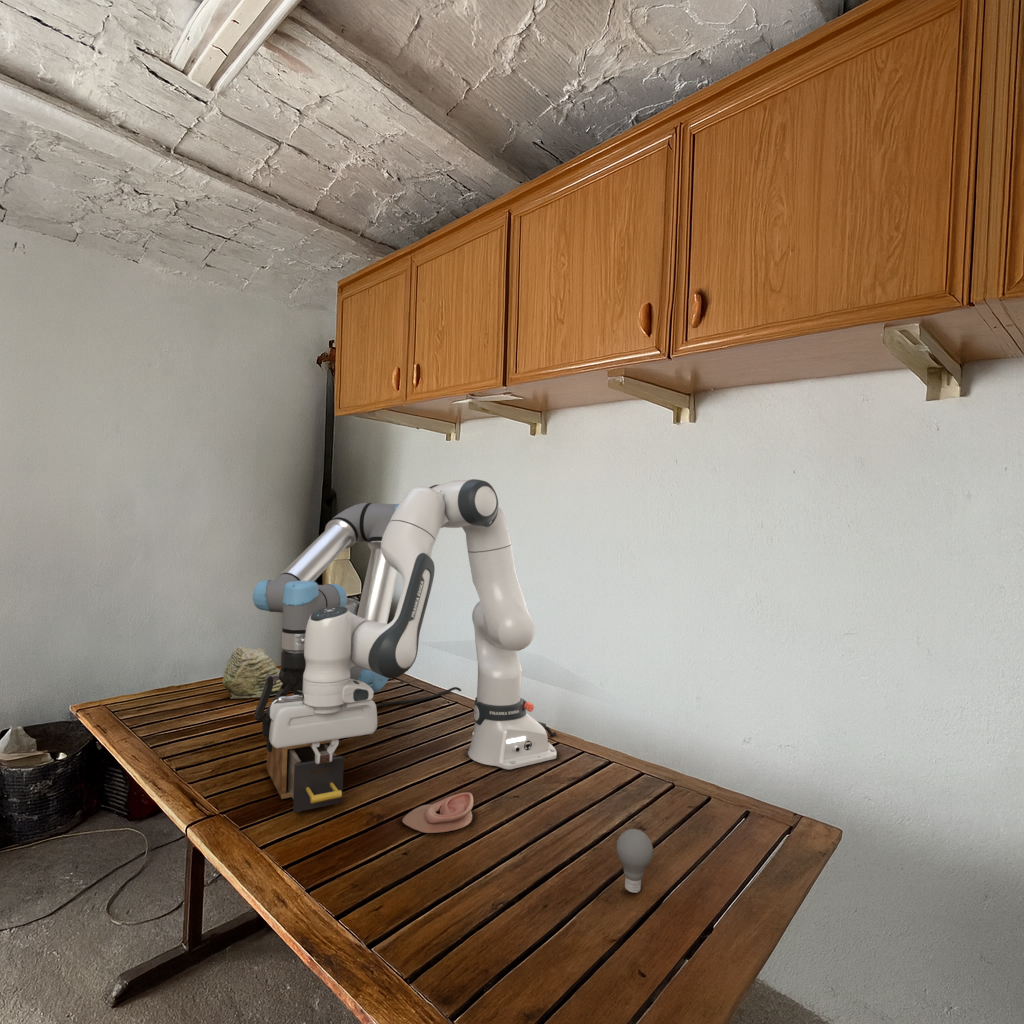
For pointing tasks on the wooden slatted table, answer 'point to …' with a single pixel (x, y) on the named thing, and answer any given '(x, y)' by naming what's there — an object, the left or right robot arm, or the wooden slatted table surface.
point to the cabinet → (281, 767)
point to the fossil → (249, 673)
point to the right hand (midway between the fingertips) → (323, 762)
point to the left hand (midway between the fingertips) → (295, 745)
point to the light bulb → (634, 857)
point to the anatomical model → (442, 814)
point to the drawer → (313, 779)
